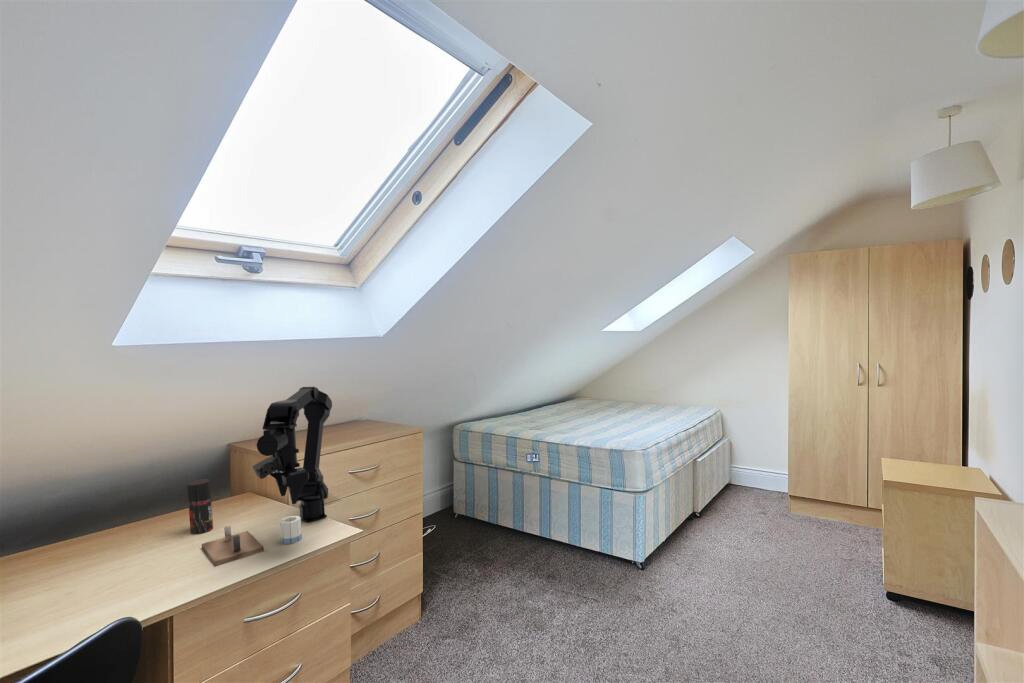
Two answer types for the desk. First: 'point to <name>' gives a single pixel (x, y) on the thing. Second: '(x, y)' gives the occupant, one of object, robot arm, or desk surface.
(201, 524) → the deodorant
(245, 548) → the pin board
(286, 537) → the sleeve
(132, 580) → the desk surface
